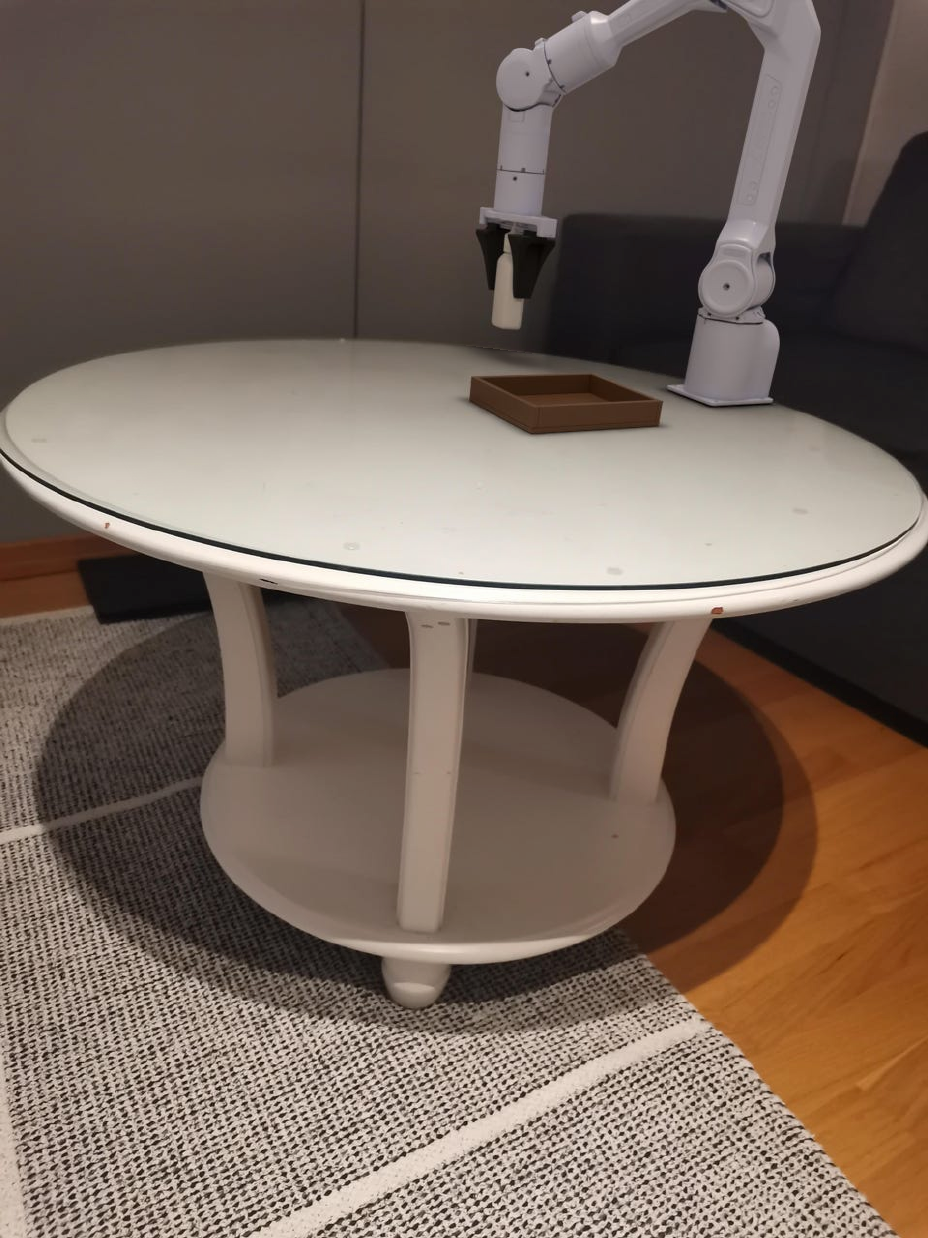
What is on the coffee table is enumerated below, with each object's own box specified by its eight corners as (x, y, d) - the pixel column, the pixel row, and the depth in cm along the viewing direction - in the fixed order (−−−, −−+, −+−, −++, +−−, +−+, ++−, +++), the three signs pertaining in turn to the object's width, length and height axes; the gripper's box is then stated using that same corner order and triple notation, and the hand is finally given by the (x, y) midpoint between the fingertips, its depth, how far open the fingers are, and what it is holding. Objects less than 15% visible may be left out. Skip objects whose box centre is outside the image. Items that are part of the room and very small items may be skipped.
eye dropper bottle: (528, 325, 119) (539, 223, 114) (517, 331, 115) (528, 225, 109) (495, 320, 120) (504, 219, 115) (483, 326, 116) (492, 221, 110)
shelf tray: (589, 395, 104) (592, 372, 103) (659, 425, 94) (663, 400, 93) (468, 400, 97) (470, 376, 96) (531, 433, 87) (534, 407, 86)
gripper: (461, 165, 113) (453, 284, 120) (524, 173, 102) (511, 303, 108) (511, 170, 117) (500, 285, 123) (577, 178, 106) (562, 304, 112)
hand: (508, 293), depth 116 cm, fingers closed on eye dropper bottle, 5 cm apart
